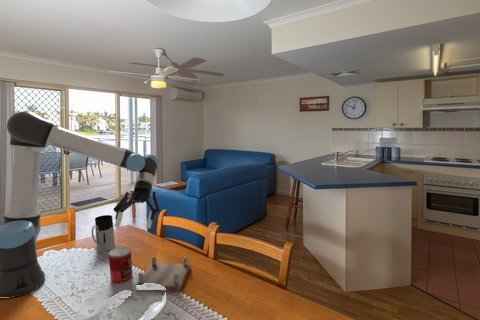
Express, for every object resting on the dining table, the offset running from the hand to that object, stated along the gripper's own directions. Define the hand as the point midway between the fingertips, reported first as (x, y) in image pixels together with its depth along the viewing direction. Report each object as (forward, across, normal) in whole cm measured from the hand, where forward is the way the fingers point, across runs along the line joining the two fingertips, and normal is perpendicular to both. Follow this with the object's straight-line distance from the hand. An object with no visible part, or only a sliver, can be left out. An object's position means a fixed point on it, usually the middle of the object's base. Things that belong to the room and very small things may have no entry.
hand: (132, 227), depth 117 cm
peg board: (+19, -17, -4) cm, 26 cm away
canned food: (+20, 0, -4) cm, 20 cm away
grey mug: (+2, +21, -21) cm, 30 cm away
